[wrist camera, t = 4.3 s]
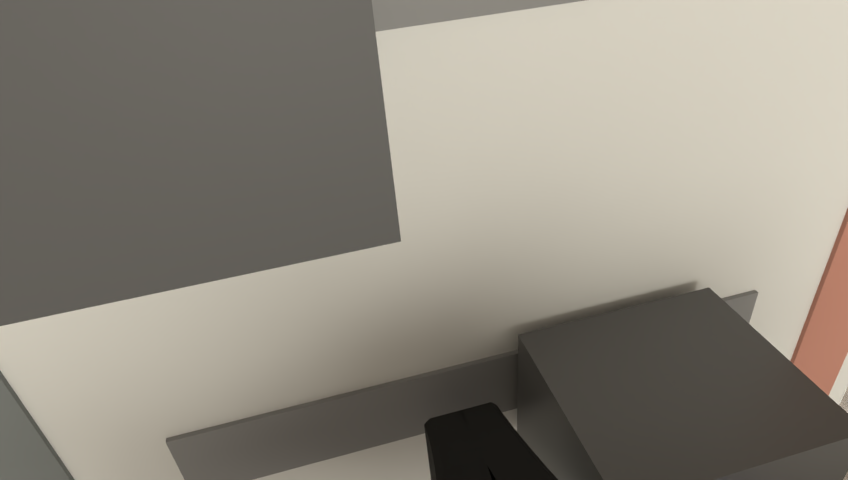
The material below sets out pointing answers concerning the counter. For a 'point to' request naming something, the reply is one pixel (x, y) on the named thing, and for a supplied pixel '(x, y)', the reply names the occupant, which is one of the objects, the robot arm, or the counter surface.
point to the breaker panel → (497, 224)
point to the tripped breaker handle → (673, 399)
